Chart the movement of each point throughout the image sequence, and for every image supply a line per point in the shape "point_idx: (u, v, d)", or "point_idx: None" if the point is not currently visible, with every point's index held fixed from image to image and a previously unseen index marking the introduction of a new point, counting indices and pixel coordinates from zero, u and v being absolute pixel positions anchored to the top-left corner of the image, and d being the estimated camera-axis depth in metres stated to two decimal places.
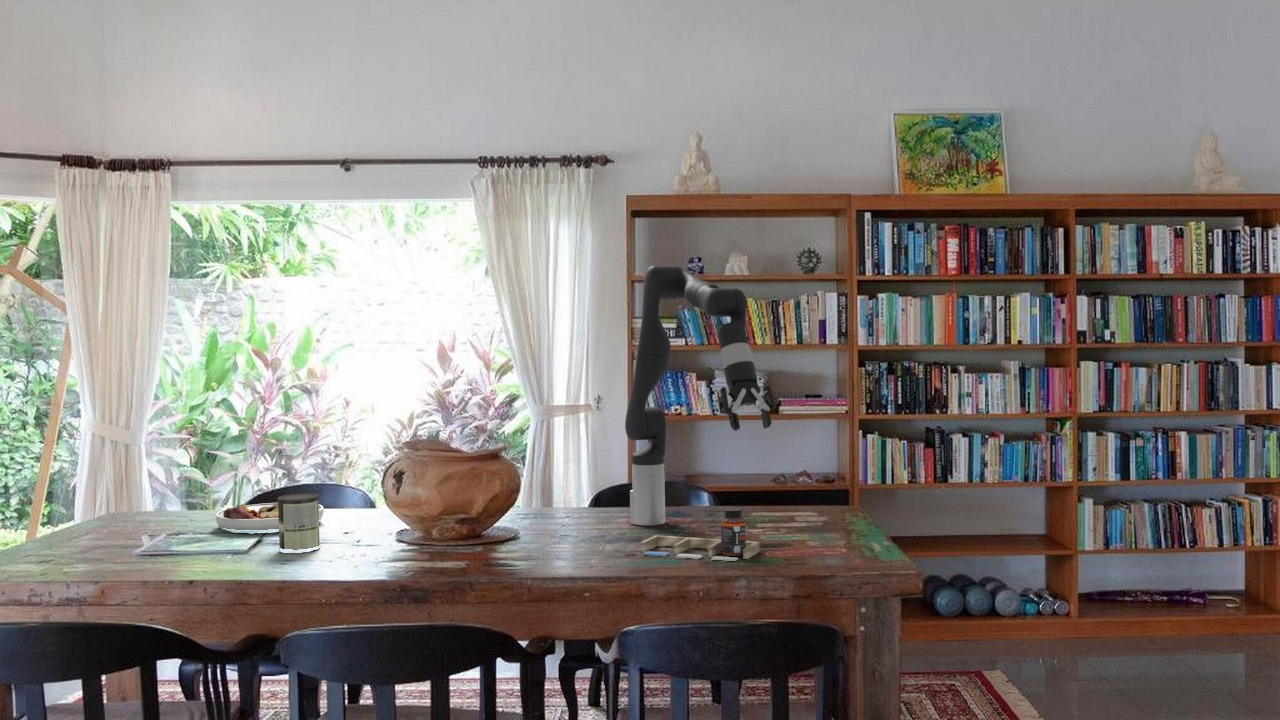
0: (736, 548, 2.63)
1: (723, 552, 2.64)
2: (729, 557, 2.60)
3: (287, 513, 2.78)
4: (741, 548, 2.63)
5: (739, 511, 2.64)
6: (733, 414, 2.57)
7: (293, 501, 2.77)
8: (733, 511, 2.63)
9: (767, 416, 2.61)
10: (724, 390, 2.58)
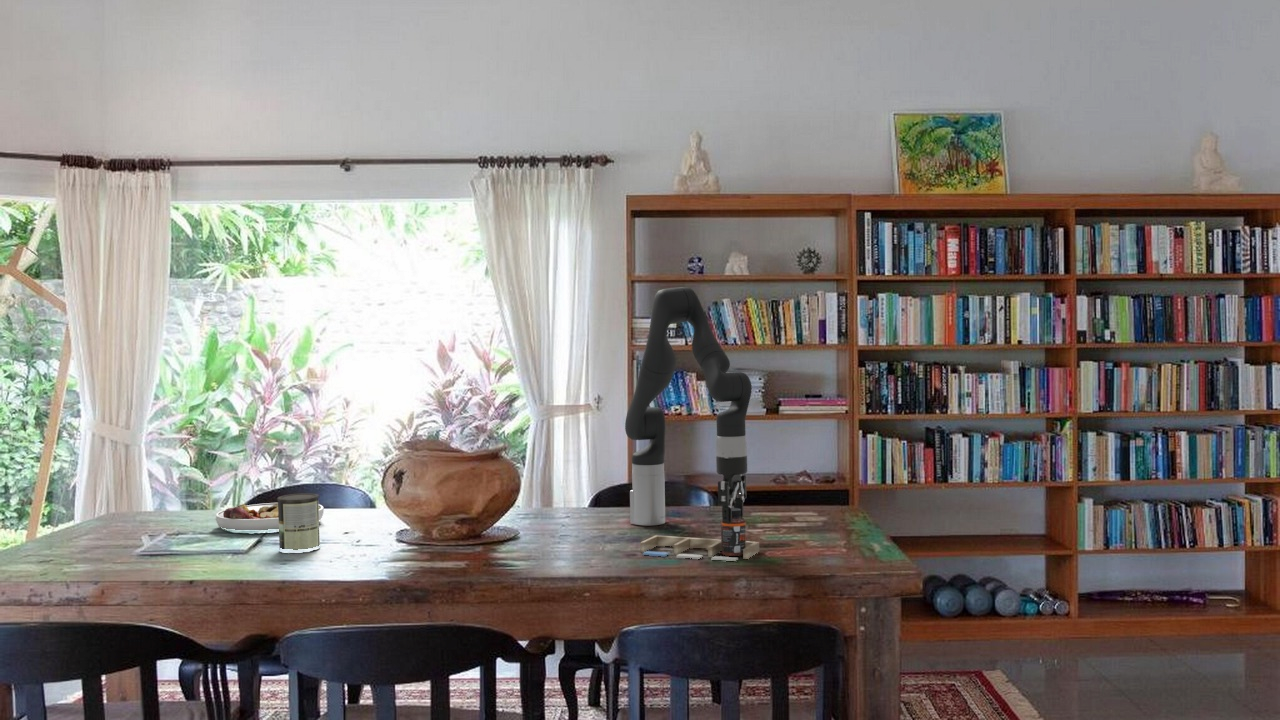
0: (736, 548, 2.63)
1: (723, 552, 2.64)
2: (729, 557, 2.60)
3: (287, 513, 2.78)
4: (741, 548, 2.63)
5: (739, 511, 2.64)
6: (729, 508, 2.60)
7: (293, 501, 2.77)
8: (733, 511, 2.63)
9: (742, 507, 2.69)
10: (728, 485, 2.59)
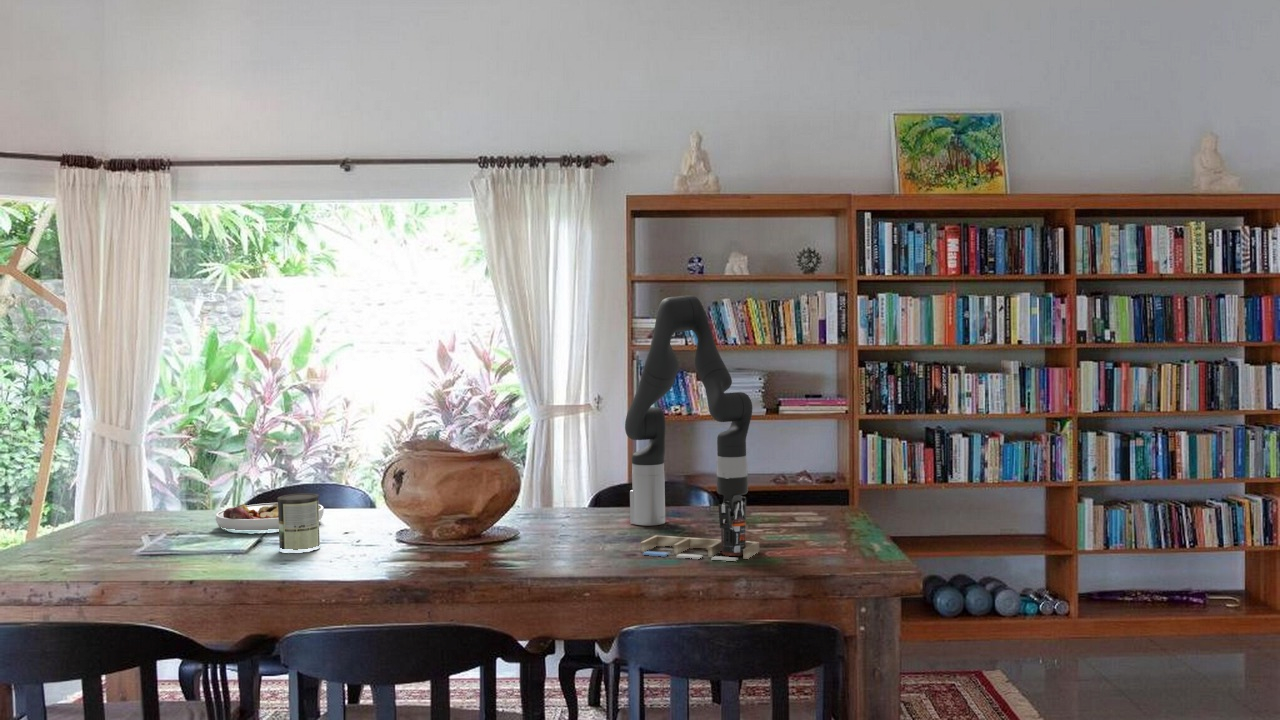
0: (736, 548, 2.63)
1: (723, 552, 2.64)
2: (729, 557, 2.60)
3: (287, 513, 2.78)
4: (741, 548, 2.63)
5: (739, 511, 2.64)
6: (730, 530, 2.62)
7: (293, 501, 2.77)
8: None
9: None
10: (729, 508, 2.59)
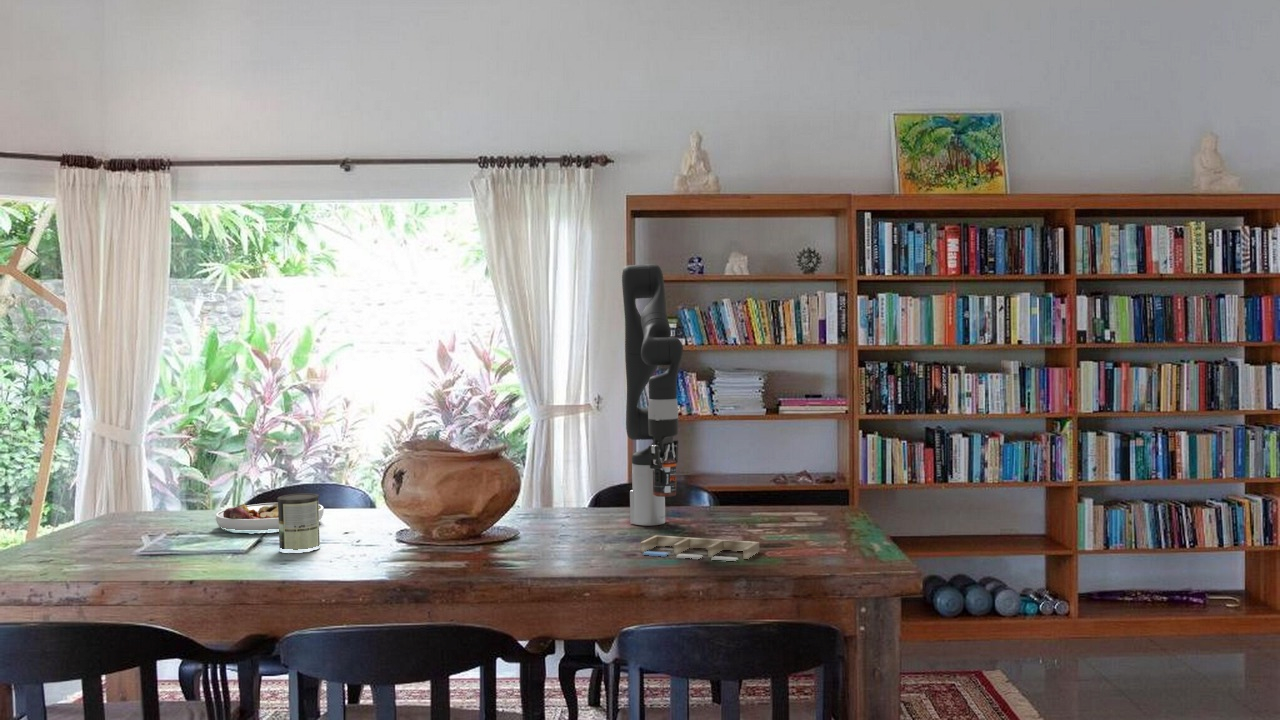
0: (666, 488, 2.70)
1: (654, 492, 2.71)
2: (729, 557, 2.60)
3: (287, 513, 2.78)
4: (671, 488, 2.70)
5: (670, 452, 2.71)
6: (661, 471, 2.69)
7: (293, 501, 2.77)
8: None
9: None
10: (658, 448, 2.66)
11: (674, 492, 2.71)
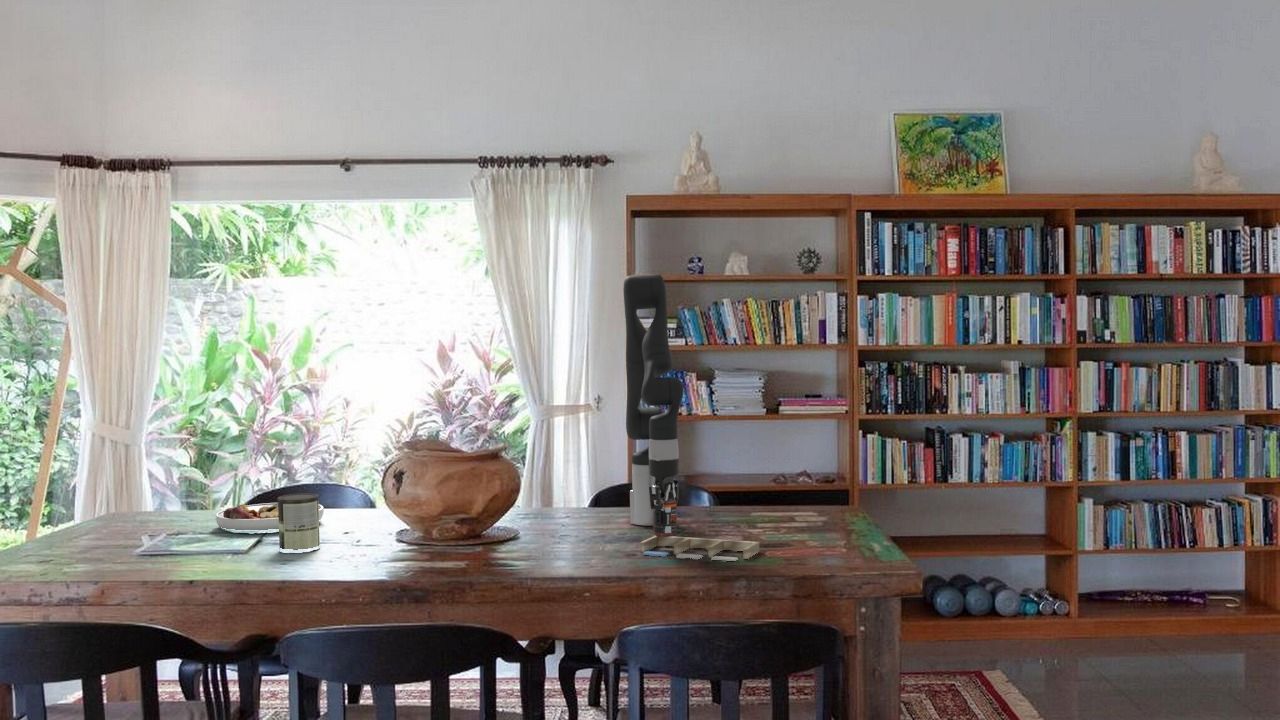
0: (667, 529, 2.70)
1: (655, 532, 2.71)
2: (729, 557, 2.60)
3: (287, 513, 2.78)
4: (671, 528, 2.70)
5: (670, 492, 2.71)
6: (661, 511, 2.69)
7: (293, 501, 2.77)
8: None
9: None
10: (659, 489, 2.66)
11: (675, 532, 2.71)
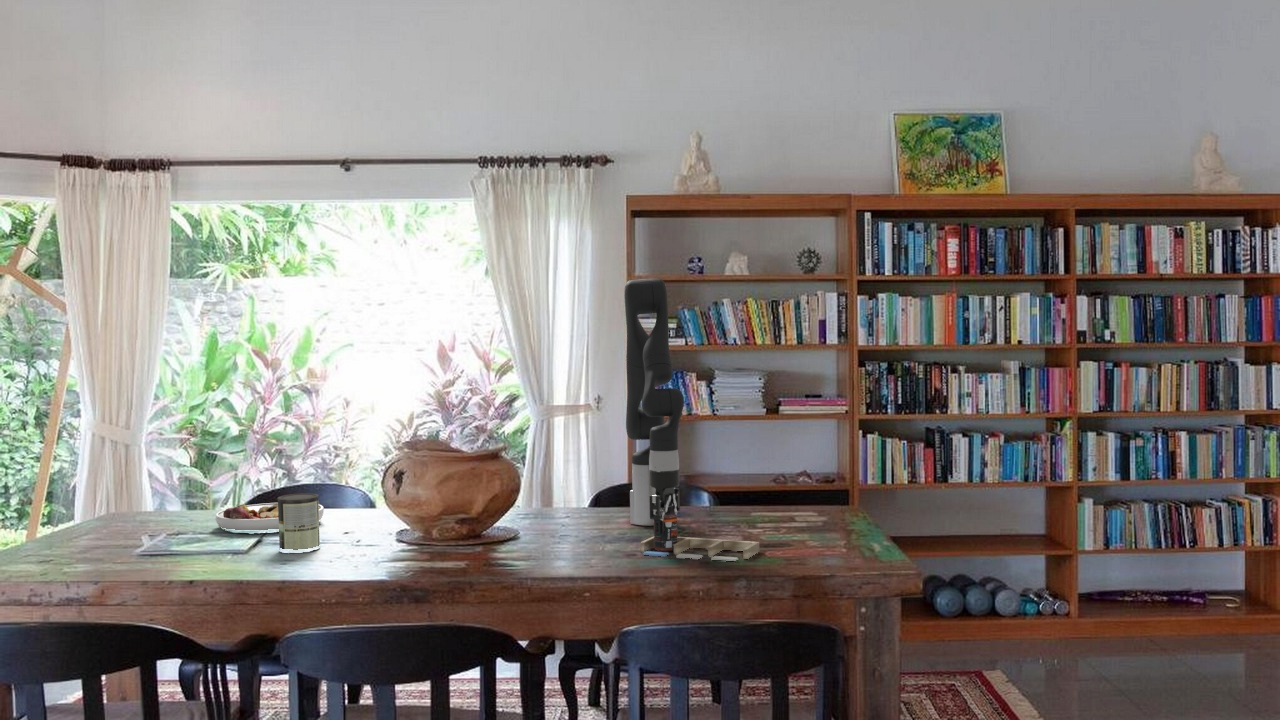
0: (667, 543, 2.70)
1: (655, 547, 2.72)
2: (729, 557, 2.60)
3: (287, 513, 2.78)
4: (672, 543, 2.71)
5: (671, 507, 2.72)
6: (660, 521, 2.68)
7: (293, 501, 2.77)
8: None
9: None
10: (659, 498, 2.66)
11: None
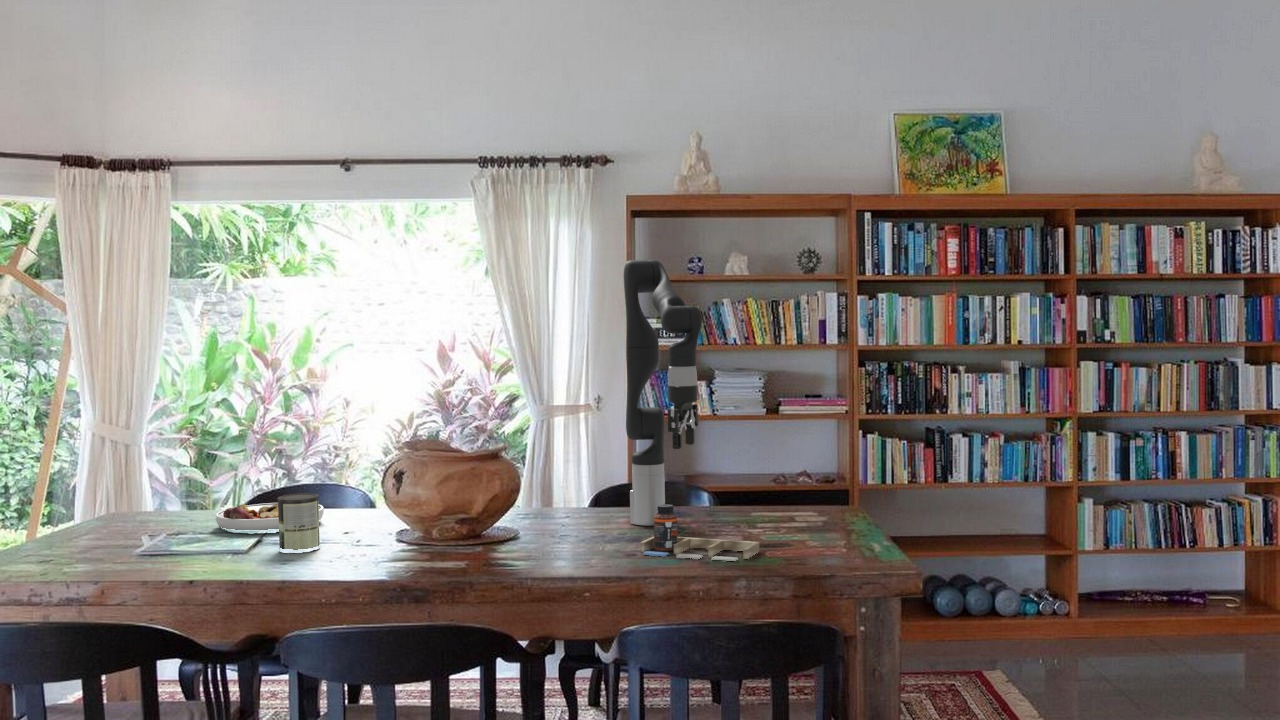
0: (667, 543, 2.70)
1: (655, 547, 2.72)
2: (729, 557, 2.60)
3: (287, 513, 2.78)
4: (672, 543, 2.71)
5: (671, 507, 2.72)
6: (678, 434, 2.74)
7: (293, 501, 2.77)
8: (665, 507, 2.71)
9: (693, 435, 2.82)
10: (678, 412, 2.72)
11: None
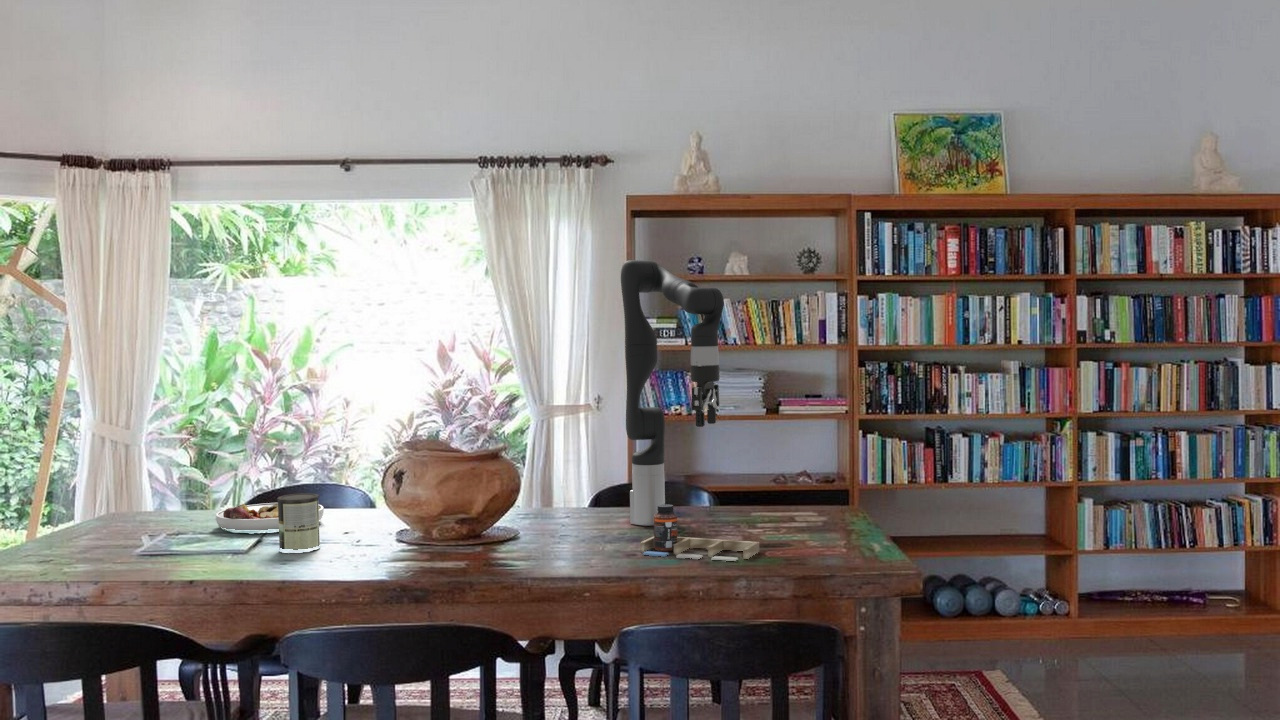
0: (667, 544, 2.70)
1: (655, 547, 2.72)
2: (729, 557, 2.60)
3: (287, 513, 2.78)
4: (672, 543, 2.71)
5: (671, 507, 2.72)
6: (702, 412, 2.81)
7: (293, 501, 2.77)
8: (665, 507, 2.71)
9: (715, 414, 2.89)
10: (701, 390, 2.79)
11: None
